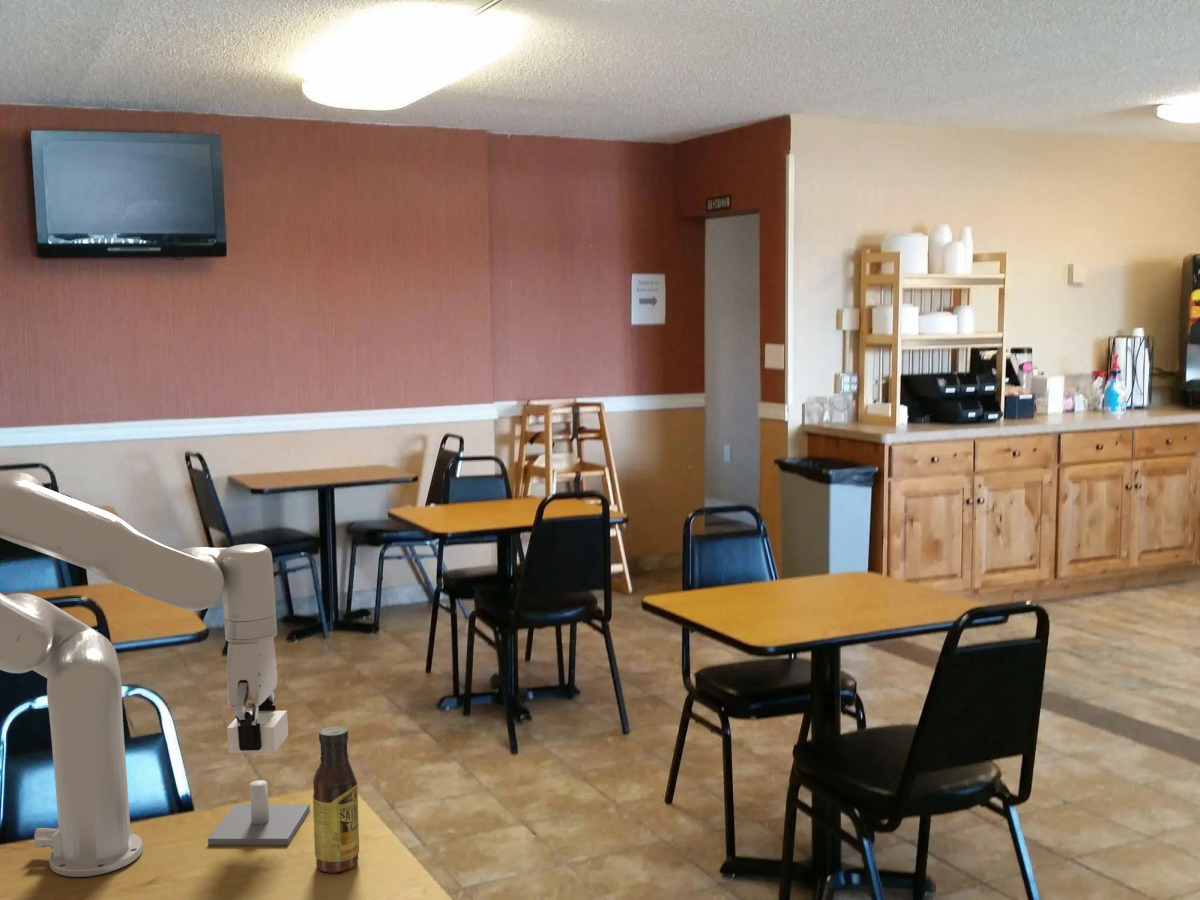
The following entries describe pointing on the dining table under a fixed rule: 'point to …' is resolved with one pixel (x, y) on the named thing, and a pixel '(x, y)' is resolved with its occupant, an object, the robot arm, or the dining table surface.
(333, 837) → the sauce bottle
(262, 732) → the white block
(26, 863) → the dining table surface
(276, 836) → the post base
